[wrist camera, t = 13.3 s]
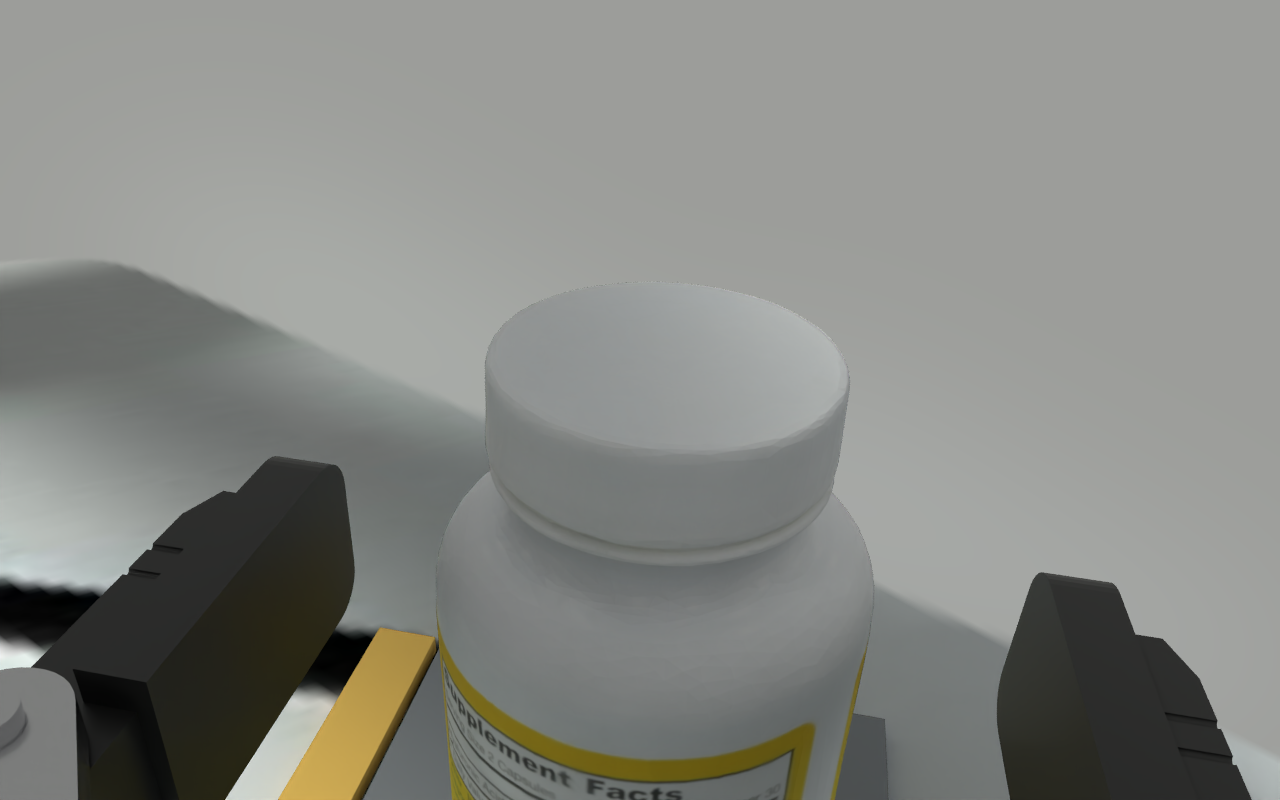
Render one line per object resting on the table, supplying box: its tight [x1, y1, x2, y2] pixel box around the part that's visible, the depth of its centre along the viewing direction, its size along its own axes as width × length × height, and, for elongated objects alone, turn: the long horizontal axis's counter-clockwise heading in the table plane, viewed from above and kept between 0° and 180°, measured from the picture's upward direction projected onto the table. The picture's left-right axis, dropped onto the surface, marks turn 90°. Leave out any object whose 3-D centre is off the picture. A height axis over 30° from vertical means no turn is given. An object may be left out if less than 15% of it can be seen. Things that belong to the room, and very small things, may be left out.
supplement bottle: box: [436, 282, 874, 800], centre depth 13 cm, size 5×5×10 cm
